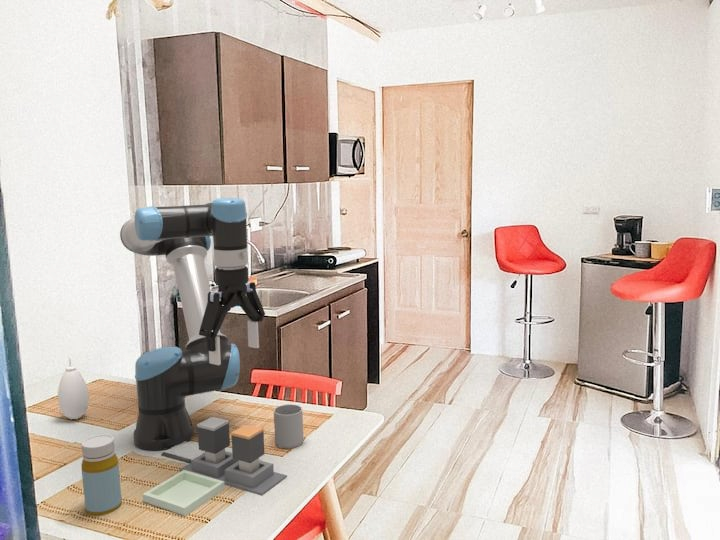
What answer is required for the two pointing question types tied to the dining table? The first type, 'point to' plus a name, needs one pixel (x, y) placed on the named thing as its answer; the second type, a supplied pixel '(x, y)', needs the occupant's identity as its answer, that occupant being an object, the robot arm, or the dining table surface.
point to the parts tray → (183, 492)
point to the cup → (288, 426)
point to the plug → (248, 447)
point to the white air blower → (73, 393)
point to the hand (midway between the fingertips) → (235, 355)
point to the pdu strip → (226, 460)
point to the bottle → (100, 475)
